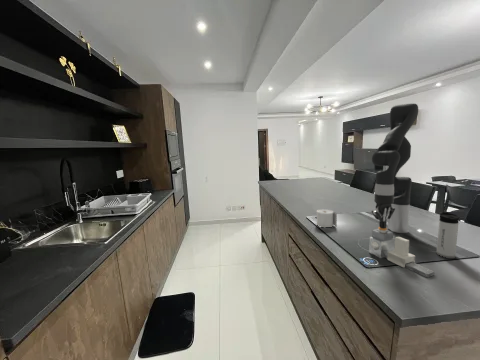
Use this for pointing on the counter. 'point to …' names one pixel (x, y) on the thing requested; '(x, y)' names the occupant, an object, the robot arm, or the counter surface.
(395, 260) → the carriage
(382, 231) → the plunger
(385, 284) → the counter surface
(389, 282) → the counter surface
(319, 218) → the toilet tissue
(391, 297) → the counter surface
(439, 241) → the travel mug
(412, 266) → the rail
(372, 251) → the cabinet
